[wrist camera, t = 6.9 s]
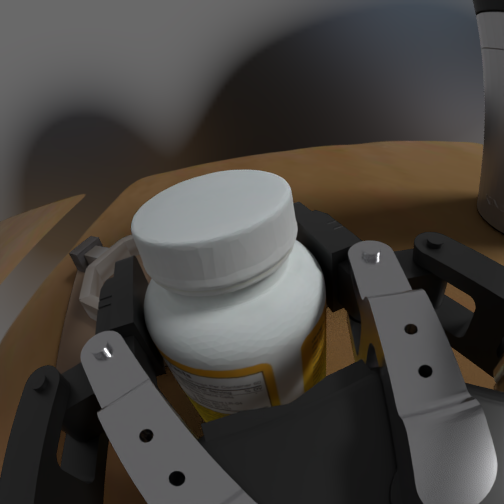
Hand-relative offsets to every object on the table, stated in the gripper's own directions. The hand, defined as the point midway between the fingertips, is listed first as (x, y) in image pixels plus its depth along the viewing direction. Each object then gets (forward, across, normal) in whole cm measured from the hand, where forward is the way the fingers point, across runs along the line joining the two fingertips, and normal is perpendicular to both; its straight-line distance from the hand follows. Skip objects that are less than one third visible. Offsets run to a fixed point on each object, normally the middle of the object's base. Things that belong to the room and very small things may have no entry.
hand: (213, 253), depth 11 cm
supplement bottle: (-3, 0, +7) cm, 7 cm away
